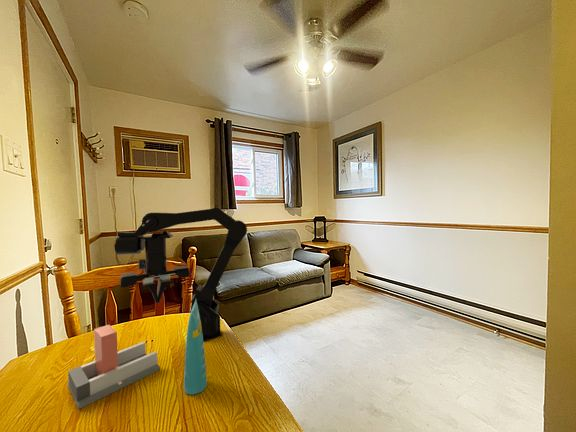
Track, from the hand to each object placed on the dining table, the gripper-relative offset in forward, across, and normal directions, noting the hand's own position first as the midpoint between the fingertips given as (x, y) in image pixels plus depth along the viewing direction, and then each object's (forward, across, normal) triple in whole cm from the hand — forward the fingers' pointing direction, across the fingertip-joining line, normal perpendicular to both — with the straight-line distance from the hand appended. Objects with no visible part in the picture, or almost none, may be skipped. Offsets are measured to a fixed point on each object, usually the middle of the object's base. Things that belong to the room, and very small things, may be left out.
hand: (157, 302), depth 77 cm
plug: (+11, +13, +13) cm, 21 cm away
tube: (+12, -4, +28) cm, 31 cm away
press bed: (+12, +11, +13) cm, 21 cm away
